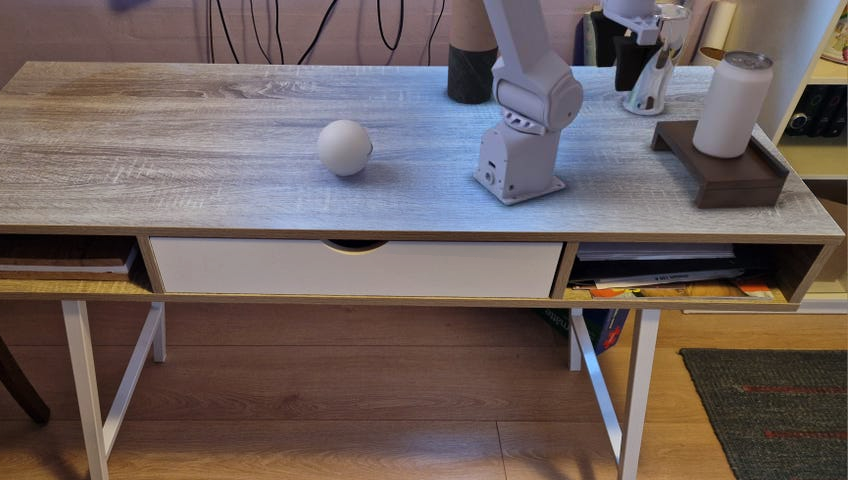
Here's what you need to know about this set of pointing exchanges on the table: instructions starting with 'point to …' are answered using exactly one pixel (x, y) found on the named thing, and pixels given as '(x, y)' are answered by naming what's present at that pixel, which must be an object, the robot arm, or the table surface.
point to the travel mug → (470, 53)
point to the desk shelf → (724, 169)
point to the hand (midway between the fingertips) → (613, 78)
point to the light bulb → (344, 147)
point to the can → (733, 104)
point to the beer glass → (660, 61)
